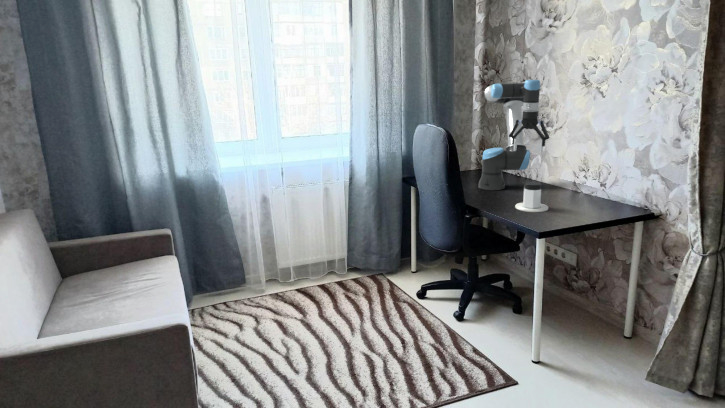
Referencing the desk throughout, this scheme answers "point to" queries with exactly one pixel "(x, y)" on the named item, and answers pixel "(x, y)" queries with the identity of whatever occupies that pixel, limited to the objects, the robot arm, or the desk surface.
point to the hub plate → (522, 208)
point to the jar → (532, 195)
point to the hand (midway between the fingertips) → (527, 151)
